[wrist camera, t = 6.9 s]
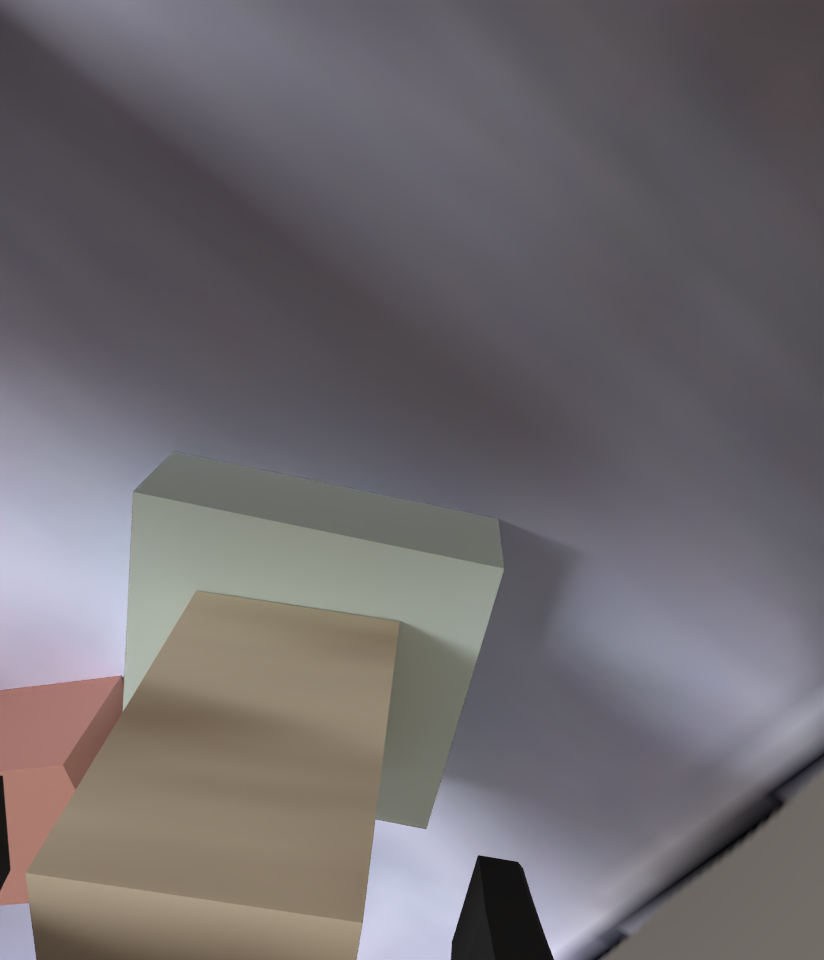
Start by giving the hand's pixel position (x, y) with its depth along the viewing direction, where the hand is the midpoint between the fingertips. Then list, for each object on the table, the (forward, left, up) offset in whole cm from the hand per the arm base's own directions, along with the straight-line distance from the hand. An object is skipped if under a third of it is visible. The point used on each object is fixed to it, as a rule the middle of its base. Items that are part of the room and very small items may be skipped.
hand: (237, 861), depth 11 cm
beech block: (0, 0, -4) cm, 4 cm away
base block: (0, 0, -7) cm, 7 cm away
